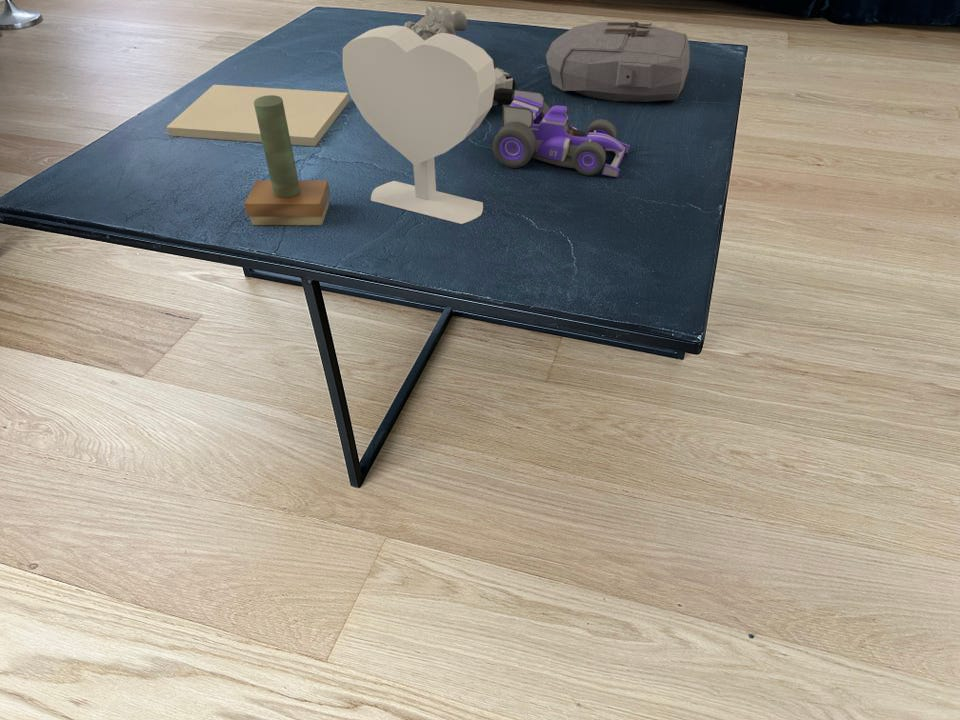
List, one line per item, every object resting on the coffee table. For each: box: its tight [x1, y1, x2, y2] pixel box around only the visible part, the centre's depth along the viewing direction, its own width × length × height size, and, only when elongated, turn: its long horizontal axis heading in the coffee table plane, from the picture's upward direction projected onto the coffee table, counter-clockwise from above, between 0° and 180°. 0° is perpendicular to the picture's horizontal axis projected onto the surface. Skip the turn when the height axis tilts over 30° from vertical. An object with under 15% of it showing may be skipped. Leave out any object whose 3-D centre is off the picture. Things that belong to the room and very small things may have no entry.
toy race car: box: [492, 89, 631, 178], centre depth 89 cm, size 10×15×6 cm, turn 71°
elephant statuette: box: [403, 4, 468, 41], centre depth 112 cm, size 9×12×8 cm
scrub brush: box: [244, 95, 331, 226], centre depth 78 cm, size 8×5×13 cm, turn 89°
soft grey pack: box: [545, 21, 691, 103], centre depth 105 cm, size 15×8×20 cm
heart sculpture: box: [342, 24, 496, 225], centre depth 78 cm, size 16×5×18 cm, turn 63°
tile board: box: [165, 84, 350, 147], centre depth 100 cm, size 20×14×1 cm
